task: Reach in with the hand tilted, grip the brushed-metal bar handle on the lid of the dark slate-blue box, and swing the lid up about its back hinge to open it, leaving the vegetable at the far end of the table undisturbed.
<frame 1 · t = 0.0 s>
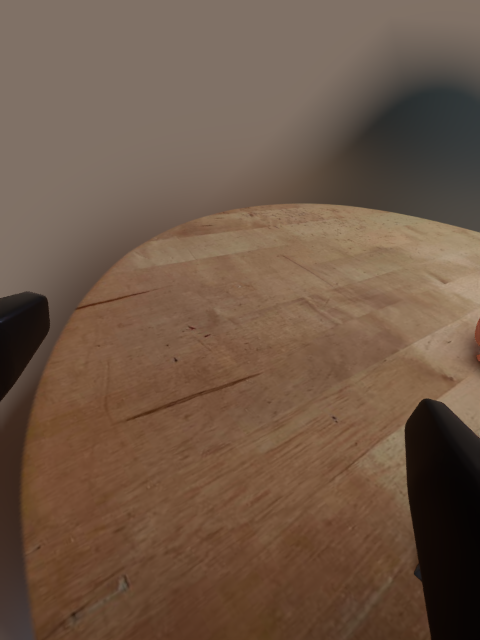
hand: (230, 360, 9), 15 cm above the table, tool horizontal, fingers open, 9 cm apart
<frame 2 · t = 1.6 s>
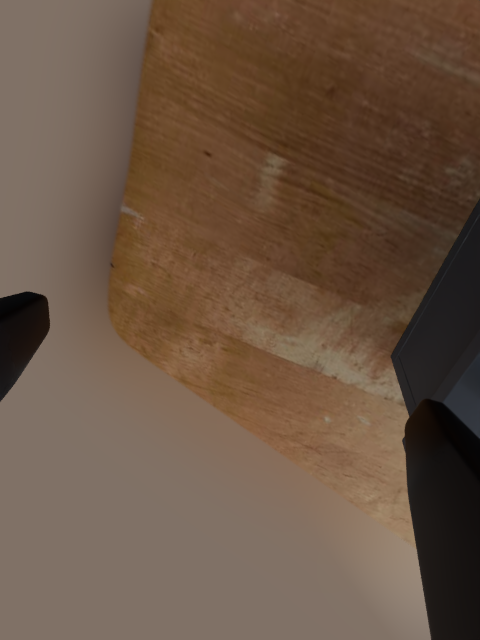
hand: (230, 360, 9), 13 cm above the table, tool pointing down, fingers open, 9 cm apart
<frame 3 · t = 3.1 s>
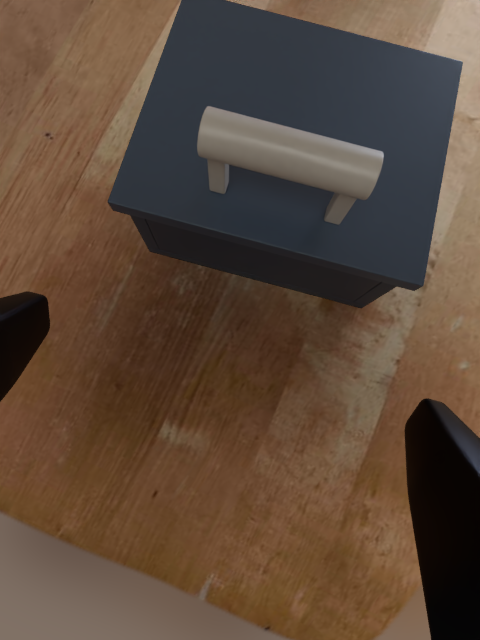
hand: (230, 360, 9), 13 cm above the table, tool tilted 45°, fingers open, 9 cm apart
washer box: (275, 204, 24), on the table
lid: (303, 99, 15), point 9 cm above the table, hinge at 0.0°
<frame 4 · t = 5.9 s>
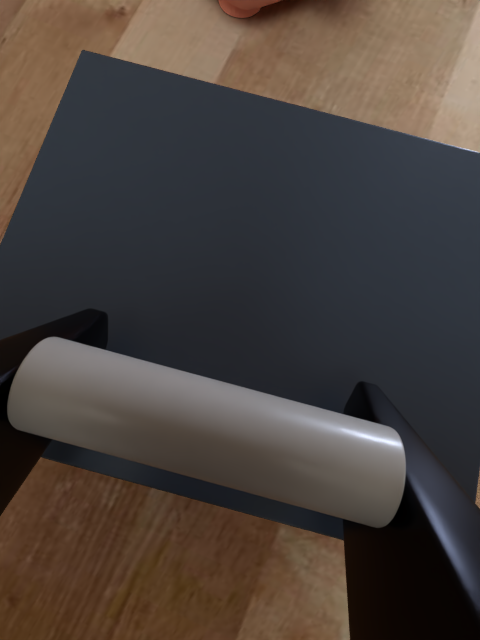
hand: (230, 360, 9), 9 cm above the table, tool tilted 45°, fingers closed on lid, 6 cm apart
lid: (256, 259, 9), point 9 cm above the table, hinge at 0.0°, touching gripper
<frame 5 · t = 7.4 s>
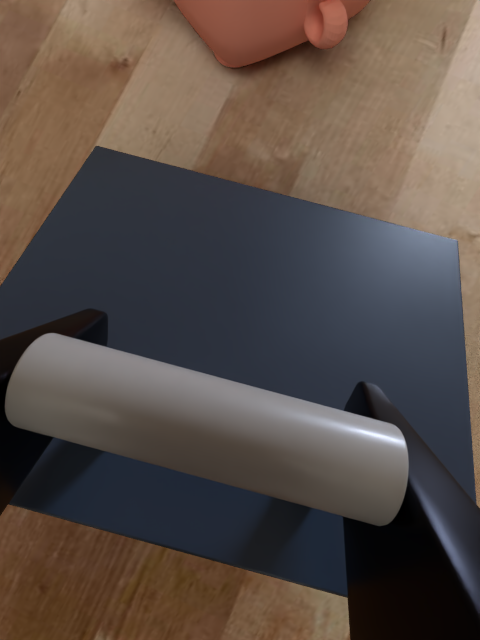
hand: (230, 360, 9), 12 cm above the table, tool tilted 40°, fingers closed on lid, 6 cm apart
lid: (246, 295, 9), point 11 cm above the table, hinge at 20.5°, touching gripper
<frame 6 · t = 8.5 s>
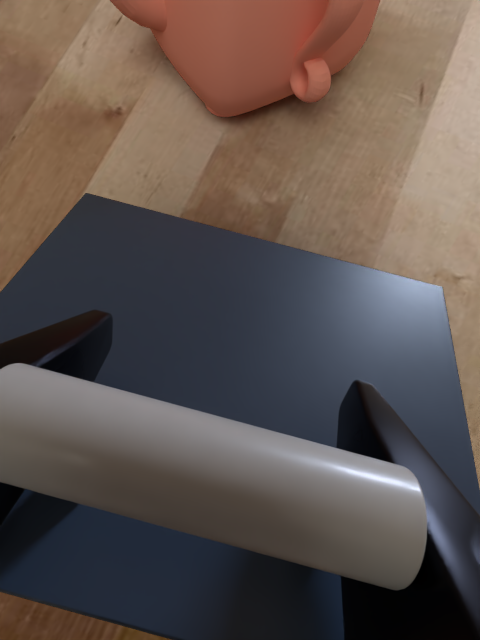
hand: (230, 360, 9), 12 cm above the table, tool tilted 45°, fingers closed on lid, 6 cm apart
lid: (236, 334, 9), point 11 cm above the table, hinge at 24.9°, touching gripper
teapot: (243, 51, 25), on the table
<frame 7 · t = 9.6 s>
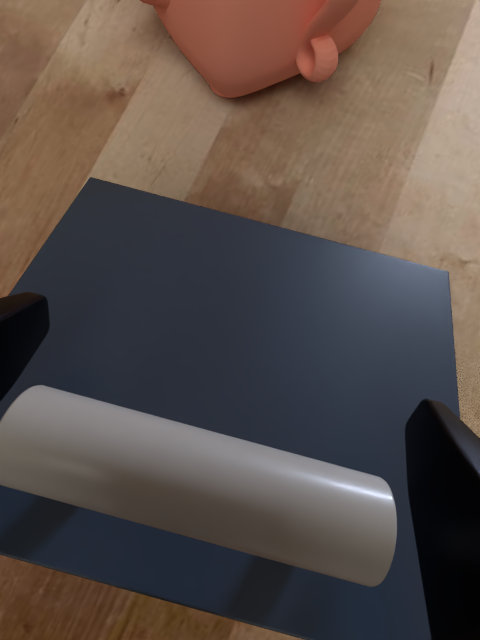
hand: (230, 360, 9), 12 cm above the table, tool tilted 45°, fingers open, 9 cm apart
lid: (237, 334, 9), point 11 cm above the table, hinge at 19.8°
teapot: (248, 28, 25), on the table
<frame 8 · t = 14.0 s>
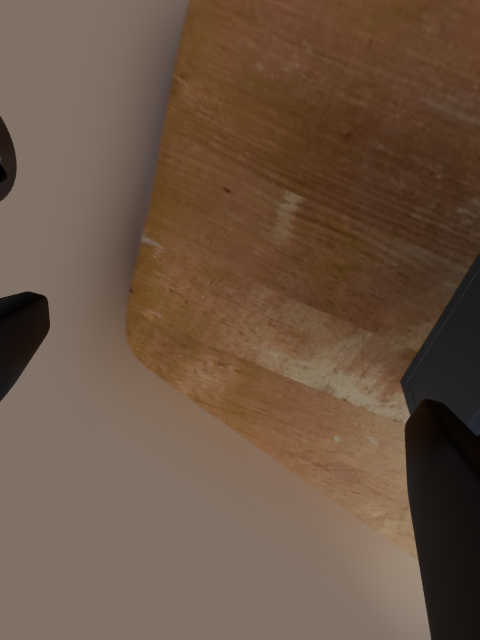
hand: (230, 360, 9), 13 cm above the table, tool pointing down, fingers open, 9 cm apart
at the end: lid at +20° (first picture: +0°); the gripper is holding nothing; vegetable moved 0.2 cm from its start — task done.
